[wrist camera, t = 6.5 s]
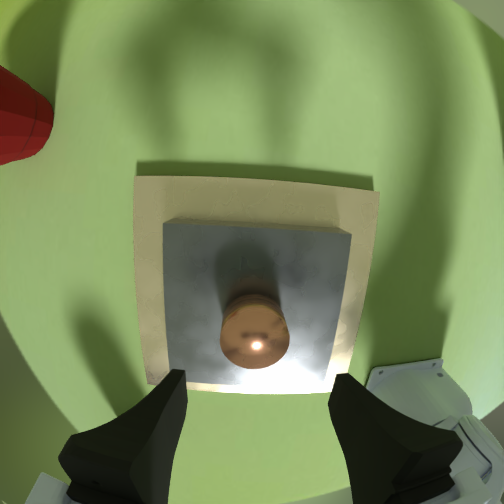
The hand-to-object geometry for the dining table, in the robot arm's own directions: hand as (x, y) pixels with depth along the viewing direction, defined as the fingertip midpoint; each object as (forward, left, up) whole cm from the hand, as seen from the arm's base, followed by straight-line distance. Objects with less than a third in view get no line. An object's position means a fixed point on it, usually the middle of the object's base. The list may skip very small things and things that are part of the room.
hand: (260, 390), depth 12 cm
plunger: (0, -1, -10) cm, 10 cm away
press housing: (0, -1, -10) cm, 10 cm away
